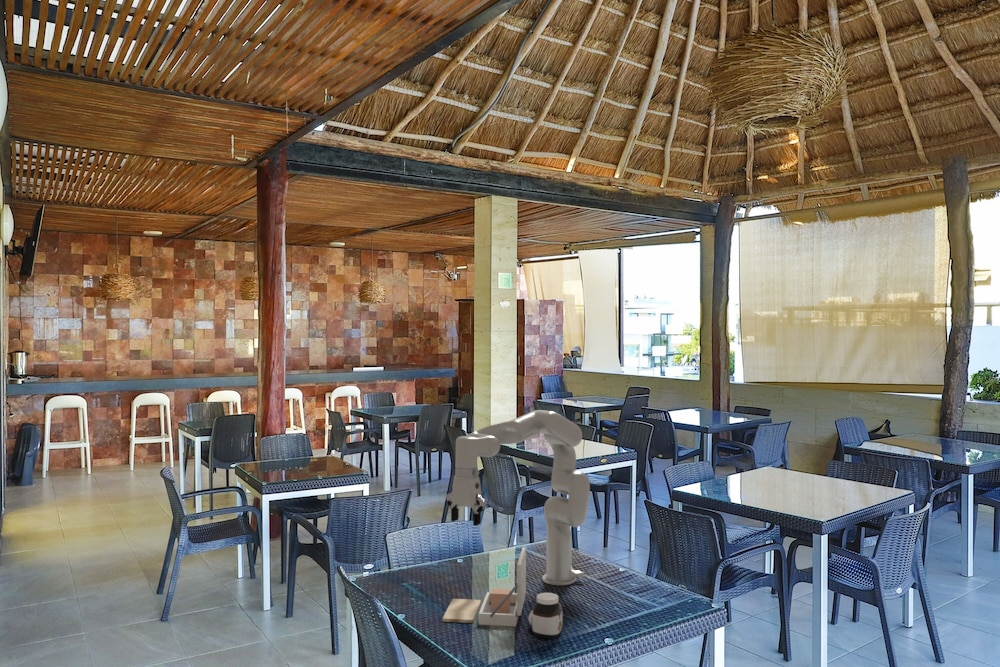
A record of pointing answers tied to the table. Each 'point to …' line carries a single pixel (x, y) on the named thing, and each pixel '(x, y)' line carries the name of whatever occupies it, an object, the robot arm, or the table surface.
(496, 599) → the block
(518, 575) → the case
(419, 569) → the table surface
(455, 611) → the oak board
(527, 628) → the table surface
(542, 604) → the spread jar
